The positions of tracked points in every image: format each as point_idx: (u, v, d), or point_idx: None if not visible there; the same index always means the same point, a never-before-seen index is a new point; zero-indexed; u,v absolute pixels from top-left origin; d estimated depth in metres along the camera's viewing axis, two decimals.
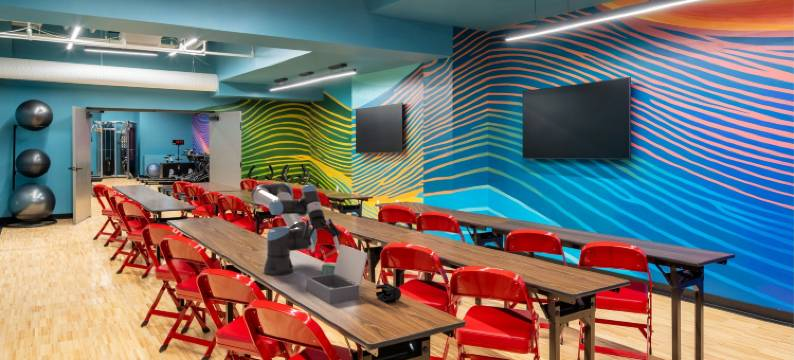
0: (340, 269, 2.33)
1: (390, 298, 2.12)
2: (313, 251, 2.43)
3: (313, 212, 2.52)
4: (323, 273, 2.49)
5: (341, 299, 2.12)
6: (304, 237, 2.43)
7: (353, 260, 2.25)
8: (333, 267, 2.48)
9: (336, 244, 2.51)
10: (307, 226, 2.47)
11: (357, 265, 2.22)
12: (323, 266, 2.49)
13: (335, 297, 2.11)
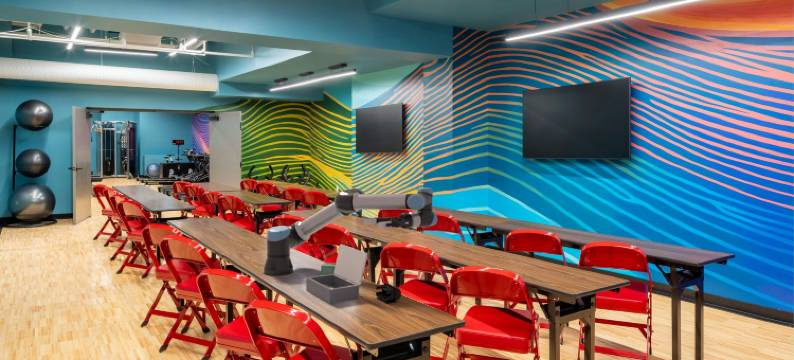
0: (340, 269, 2.33)
1: (390, 298, 2.12)
2: None
3: (409, 226, 2.42)
4: (322, 273, 2.49)
5: (341, 299, 2.12)
6: (396, 226, 2.29)
7: (353, 260, 2.25)
8: (332, 267, 2.47)
9: (369, 221, 2.40)
10: (403, 225, 2.35)
11: (357, 265, 2.22)
12: (322, 266, 2.48)
13: (335, 297, 2.11)
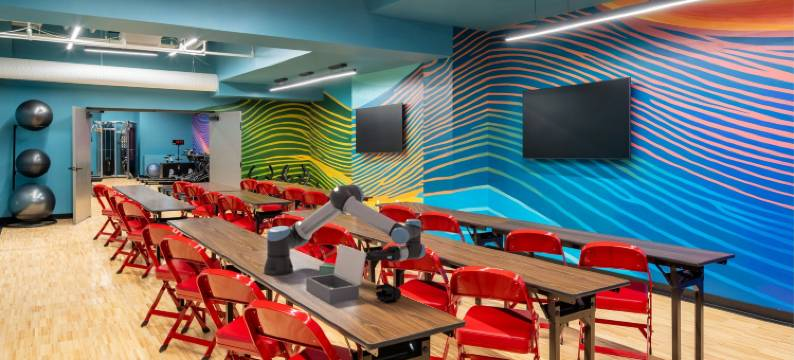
0: (340, 269, 2.33)
1: (390, 298, 2.12)
2: None
3: (397, 260, 2.38)
4: (320, 273, 2.48)
5: (341, 299, 2.12)
6: None
7: (352, 260, 2.25)
8: (330, 268, 2.46)
9: None
10: (384, 259, 2.31)
11: (356, 265, 2.21)
12: (320, 266, 2.48)
13: (335, 297, 2.11)
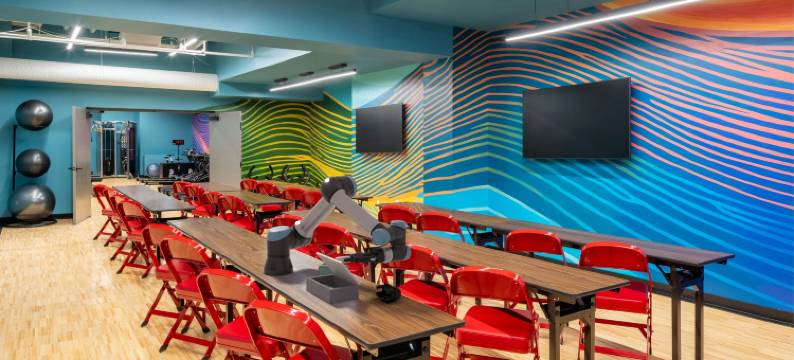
0: (335, 271, 2.31)
1: (390, 298, 2.12)
2: None
3: (381, 262, 2.33)
4: (319, 274, 2.48)
5: (341, 299, 2.12)
6: None
7: (337, 266, 2.21)
8: (329, 268, 2.46)
9: None
10: (367, 261, 2.27)
11: (343, 271, 2.18)
12: (320, 267, 2.48)
13: (335, 297, 2.11)
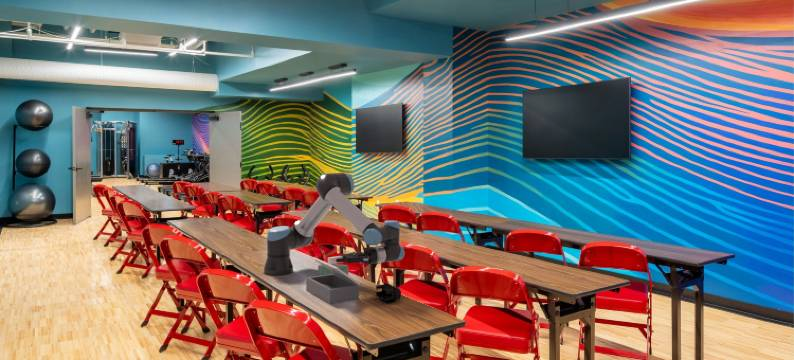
0: (334, 272, 2.31)
1: (390, 298, 2.12)
2: (328, 260, 2.21)
3: (374, 262, 2.32)
4: (319, 274, 2.47)
5: (341, 299, 2.12)
6: (346, 262, 2.23)
7: (334, 270, 2.20)
8: None
9: None
10: None
11: (341, 273, 2.17)
12: (319, 267, 2.47)
13: (335, 297, 2.11)
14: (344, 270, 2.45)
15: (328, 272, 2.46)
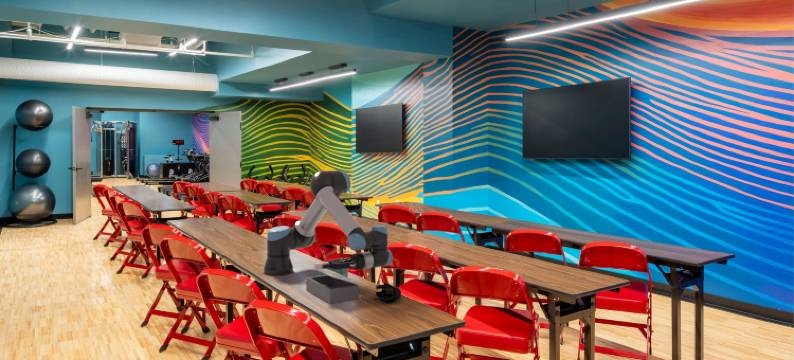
0: None
1: (390, 298, 2.12)
2: (315, 266, 2.17)
3: (361, 268, 2.28)
4: (318, 274, 2.47)
5: (341, 299, 2.12)
6: (332, 268, 2.19)
7: None
8: None
9: None
10: None
11: None
12: None
13: (335, 297, 2.11)
14: (343, 270, 2.45)
15: None
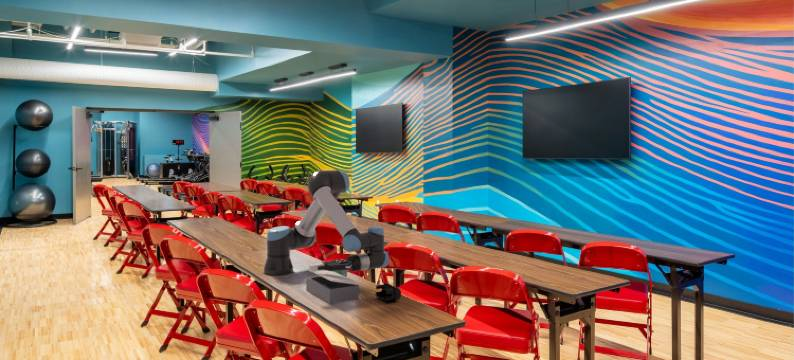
0: None
1: (390, 298, 2.12)
2: (310, 268, 2.16)
3: (357, 269, 2.27)
4: None
5: (341, 299, 2.12)
6: (328, 270, 2.18)
7: (331, 277, 2.19)
8: None
9: None
10: (342, 269, 2.20)
11: None
12: None
13: (335, 297, 2.11)
14: (342, 270, 2.45)
15: None
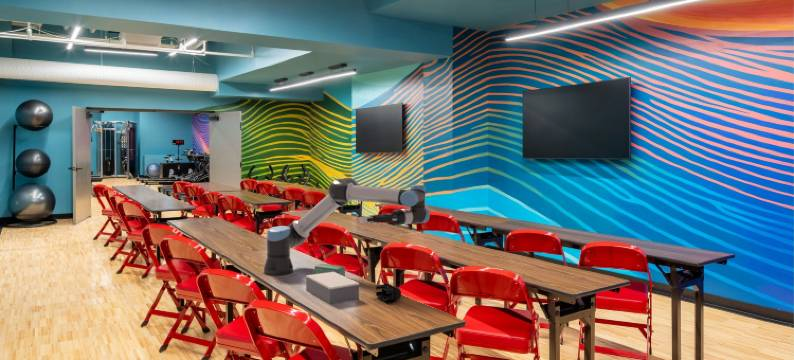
0: None
1: (390, 298, 2.12)
2: (360, 219, 2.34)
3: (402, 223, 2.45)
4: None
5: (341, 299, 2.12)
6: (376, 221, 2.36)
7: None
8: (325, 268, 2.44)
9: None
10: (389, 221, 2.38)
11: None
12: (315, 267, 2.46)
13: (335, 297, 2.11)
14: (340, 271, 2.43)
15: None
